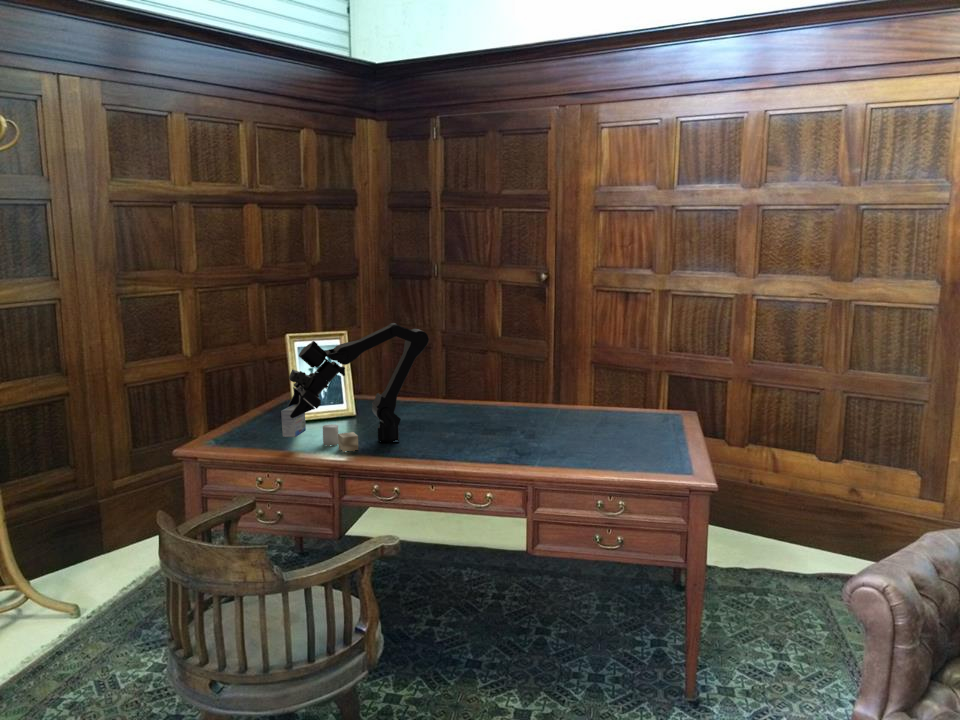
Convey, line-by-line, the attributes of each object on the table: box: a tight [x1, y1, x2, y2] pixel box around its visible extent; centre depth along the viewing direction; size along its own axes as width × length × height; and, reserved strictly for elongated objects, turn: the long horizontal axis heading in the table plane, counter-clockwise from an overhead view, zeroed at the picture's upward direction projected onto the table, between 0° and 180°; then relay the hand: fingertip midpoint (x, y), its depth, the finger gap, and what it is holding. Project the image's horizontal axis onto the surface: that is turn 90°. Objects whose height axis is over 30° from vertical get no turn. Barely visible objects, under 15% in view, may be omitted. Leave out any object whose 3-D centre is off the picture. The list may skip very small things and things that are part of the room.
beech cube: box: [337, 431, 359, 453], centre depth 254 cm, size 5×5×5 cm
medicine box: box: [280, 405, 307, 438], centre depth 252 cm, size 8×4×9 cm, turn 167°
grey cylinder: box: [322, 423, 339, 447], centre depth 260 cm, size 5×5×6 cm
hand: (288, 414), depth 251 cm, fingers closed on medicine box, 9 cm apart
